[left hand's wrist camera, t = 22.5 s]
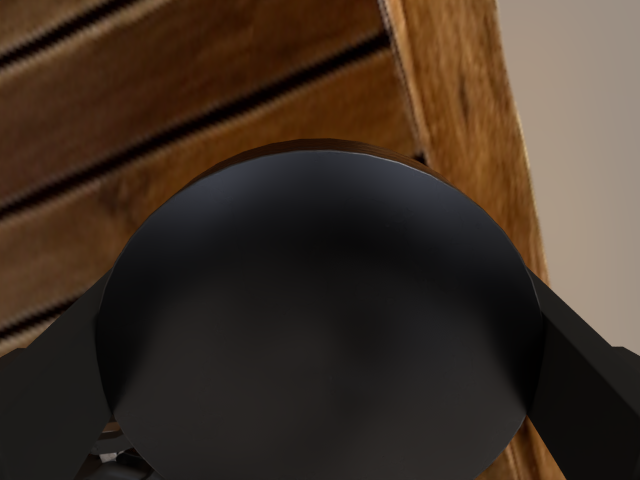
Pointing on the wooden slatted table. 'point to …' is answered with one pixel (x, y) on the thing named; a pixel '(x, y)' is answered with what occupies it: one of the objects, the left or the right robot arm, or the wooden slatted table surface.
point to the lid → (319, 323)
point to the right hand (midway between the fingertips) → (350, 451)
